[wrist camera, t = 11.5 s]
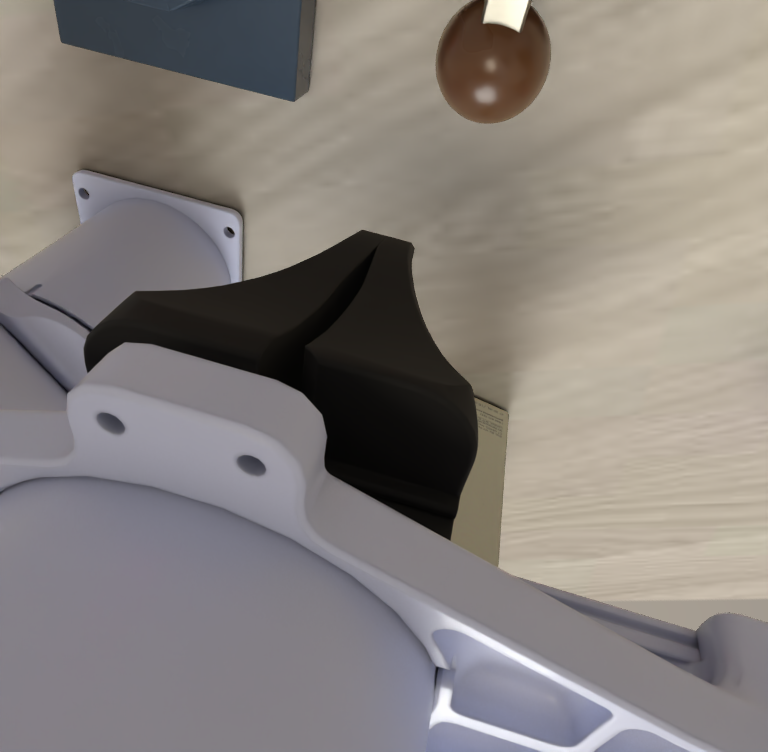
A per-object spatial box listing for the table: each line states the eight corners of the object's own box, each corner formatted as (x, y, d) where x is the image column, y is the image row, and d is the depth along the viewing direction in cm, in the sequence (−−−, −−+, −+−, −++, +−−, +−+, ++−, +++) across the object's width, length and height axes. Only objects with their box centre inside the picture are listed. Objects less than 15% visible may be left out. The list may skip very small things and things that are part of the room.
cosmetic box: (435, 377, 29) (387, 594, 20) (512, 410, 29) (500, 639, 20) (393, 452, 33) (336, 660, 24) (460, 480, 33) (430, 696, 24)
